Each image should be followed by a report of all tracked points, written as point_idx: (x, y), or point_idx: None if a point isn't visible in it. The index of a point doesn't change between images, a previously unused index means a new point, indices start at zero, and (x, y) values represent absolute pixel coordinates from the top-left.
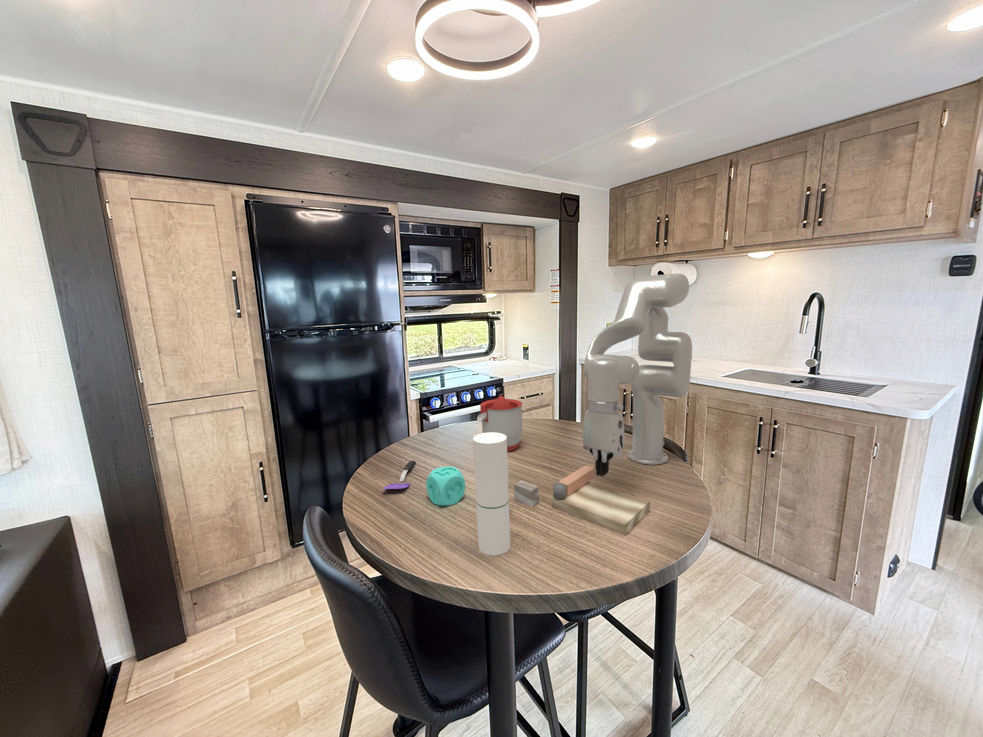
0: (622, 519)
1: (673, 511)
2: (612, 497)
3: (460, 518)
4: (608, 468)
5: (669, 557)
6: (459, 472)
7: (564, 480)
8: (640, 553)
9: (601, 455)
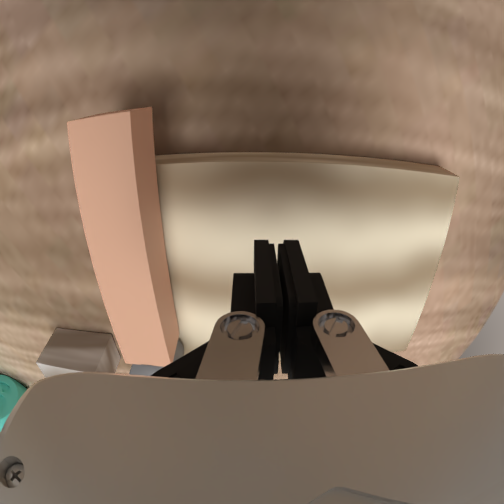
0: (397, 336)
1: (491, 130)
2: (329, 235)
3: None
4: (323, 284)
5: (474, 330)
6: (1, 429)
7: (130, 343)
8: (429, 354)
9: (263, 350)
